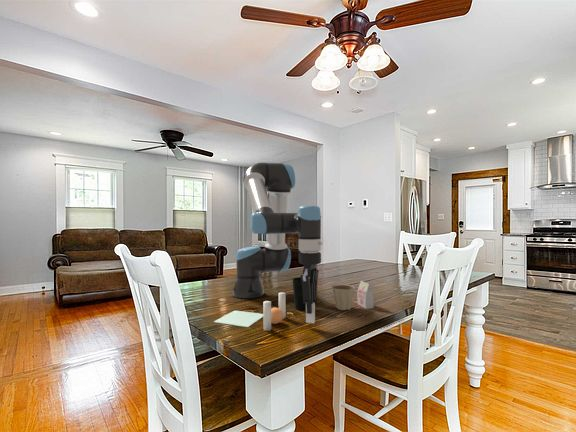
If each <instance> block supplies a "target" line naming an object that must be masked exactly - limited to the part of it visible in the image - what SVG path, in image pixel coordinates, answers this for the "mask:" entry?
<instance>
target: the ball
mask: <svg viewBox="0 0 576 432" xmlns="http://www.w3.org/2000/svg"><path fill="white" fill-rule="evenodd" d="M282 318H283V313H282V311H281V310H280V309H279V307H271V325H272V324H273V325H277V324H280V323H281V322H282V320H283V319H282Z"/></svg>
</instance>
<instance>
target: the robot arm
mask: <svg viewBox="0 0 576 432" xmlns="http://www.w3.org/2000/svg"><path fill="white" fill-rule="evenodd" d="M295 173H296V172H295V169H294V167H293V166H292V165H291V164H289V163H275V162H273V163H272V162H257V163H253V164H252V165H251V166H250V167H248V168H247V169H246V170H245V172H244V175H243V178H242V179H243V180H242V181H243V186H244V188H245V190H247V193H248V196H249V201H250V204H251V208H252V212H251V214H250V217H249V226H250V227H249V228H250V232H251V233H252V234H257V235H258V234H260V235H267V242H266V243H265V244H264V248H261V247H260V246H258V245H255V246H247V247H243V248H239V249H238V250H237V251H236V259H235V261H236V281H235V283H234V287H233V290H232V296H233V297H235V298H238V299H255V298H259V297H263V295H264V294H265V288H264V285H263V283H262V280H261V273H274V272H277V273H280V272H285V271H287V270H288V269H289V268H290V265H291V261H292V253H291V251H292V250H291V249H290V248H288V244H286V234H298V251H299V253H298V264H300V265H303V269H302V274H301V275H300V277H301V282H302V292H303V303H306V310H305V323H306V324H307V323H308V324H315V322H316V304H315V303H318V299H317V298H318V280H319V269H318V268H317V265H320V264H321V263H322V253H321V252H320V251H321V250H322V246H321V245H323V242H322V240H321V239H322V237H321V236H322V235H321V234H322V232H321V231H322V230H321V229H322V226H321V225H322V214H321V207H319V206H318V205H300V206H299V207H298V212H287V208H288V207H287V206H288V195H289V194H290V193H291V191H292V189H294V188H295V186H296V174H295Z"/></svg>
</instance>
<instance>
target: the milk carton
mask: <svg viewBox="0 0 576 432" xmlns="http://www.w3.org/2000/svg"><path fill="white" fill-rule="evenodd" d="M356 305H358V306H359V307H361V308H362V309H365V310H366V309H367V310H368V309H369V310H370V309H374V292H373V290H372V288H371V285H370V283H368V282H365V281H362V280H360V281H359V285H358V286H357V290H356Z"/></svg>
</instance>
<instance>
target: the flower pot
mask: <svg viewBox="0 0 576 432" xmlns="http://www.w3.org/2000/svg"><path fill="white" fill-rule="evenodd" d="M331 289H332V292H333V297H334V304H335V308H336V309H337V310H339V311H347V310H348V311H349V310H351V309H352V303H353V296H354V295H353V294H354V292H355V289H356V287H355V286H353V285H349V284H336V285H335V284H334V285H331Z"/></svg>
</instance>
